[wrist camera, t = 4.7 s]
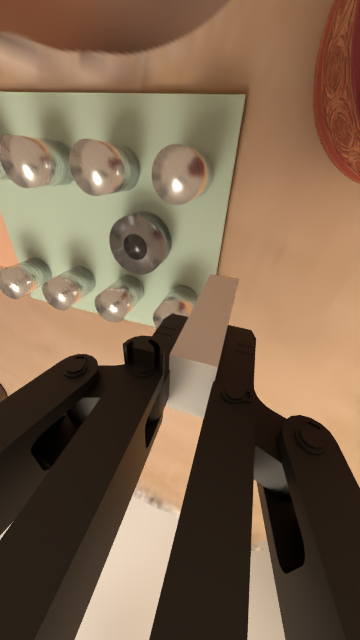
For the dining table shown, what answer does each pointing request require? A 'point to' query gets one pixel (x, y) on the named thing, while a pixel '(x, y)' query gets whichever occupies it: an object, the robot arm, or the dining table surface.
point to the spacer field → (103, 211)
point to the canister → (340, 88)
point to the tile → (6, 247)
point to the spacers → (99, 179)
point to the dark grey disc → (140, 242)
